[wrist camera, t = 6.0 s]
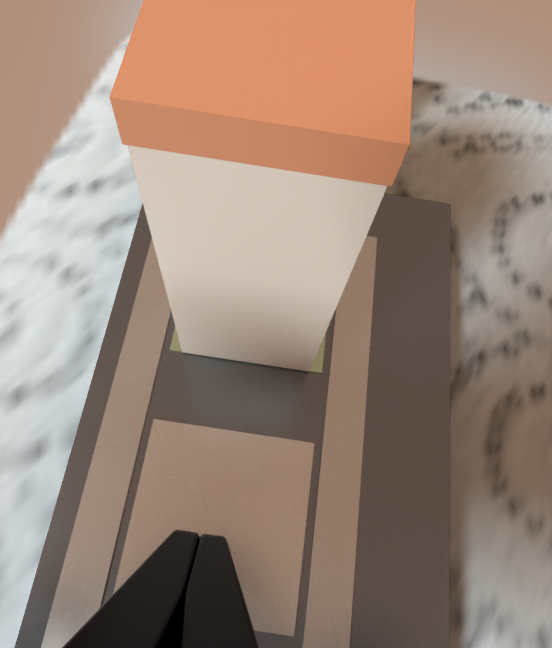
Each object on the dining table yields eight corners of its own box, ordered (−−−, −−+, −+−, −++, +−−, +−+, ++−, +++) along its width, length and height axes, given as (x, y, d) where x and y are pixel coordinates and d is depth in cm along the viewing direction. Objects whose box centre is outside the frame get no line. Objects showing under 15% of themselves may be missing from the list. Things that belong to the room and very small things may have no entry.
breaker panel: (429, 915, 13) (548, 1137, 8) (-28, 851, 12) (-189, 1039, 8) (438, 222, 21) (500, 124, 16) (160, 178, 20) (137, 66, 16)
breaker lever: (310, 373, 16) (409, 144, 7) (180, 353, 16) (109, 97, 7) (323, 260, 18) (418, -46, 9) (205, 242, 18) (173, -85, 9)
